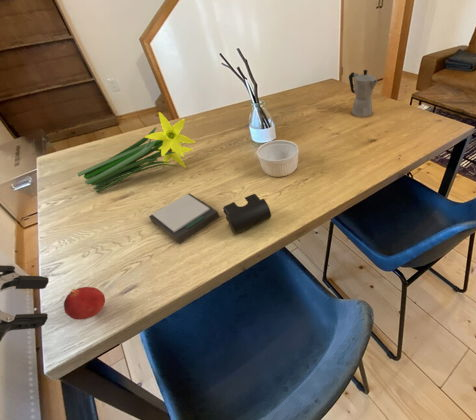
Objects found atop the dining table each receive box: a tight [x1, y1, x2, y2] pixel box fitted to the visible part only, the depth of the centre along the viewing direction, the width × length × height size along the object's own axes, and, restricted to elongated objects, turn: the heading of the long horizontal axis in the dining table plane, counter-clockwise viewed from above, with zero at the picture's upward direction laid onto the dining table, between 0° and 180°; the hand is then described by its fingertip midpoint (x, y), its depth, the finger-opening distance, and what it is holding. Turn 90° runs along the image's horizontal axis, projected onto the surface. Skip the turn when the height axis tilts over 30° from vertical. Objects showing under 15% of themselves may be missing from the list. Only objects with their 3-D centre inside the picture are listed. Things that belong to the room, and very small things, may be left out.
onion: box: [63, 286, 106, 320], centre depth 52 cm, size 6×6×8 cm
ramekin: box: [256, 139, 300, 178], centre depth 90 cm, size 13×13×7 cm
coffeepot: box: [348, 69, 379, 118], centre depth 118 cm, size 15×9×18 cm, turn 43°
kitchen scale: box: [148, 193, 220, 245], centre depth 73 cm, size 12×13×3 cm
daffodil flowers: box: [77, 111, 196, 194], centre depth 85 cm, size 17×15×35 cm
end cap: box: [222, 193, 272, 235], centre depth 70 cm, size 10×7×7 cm
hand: (46, 300), depth 48 cm, fingers open, 8 cm apart
